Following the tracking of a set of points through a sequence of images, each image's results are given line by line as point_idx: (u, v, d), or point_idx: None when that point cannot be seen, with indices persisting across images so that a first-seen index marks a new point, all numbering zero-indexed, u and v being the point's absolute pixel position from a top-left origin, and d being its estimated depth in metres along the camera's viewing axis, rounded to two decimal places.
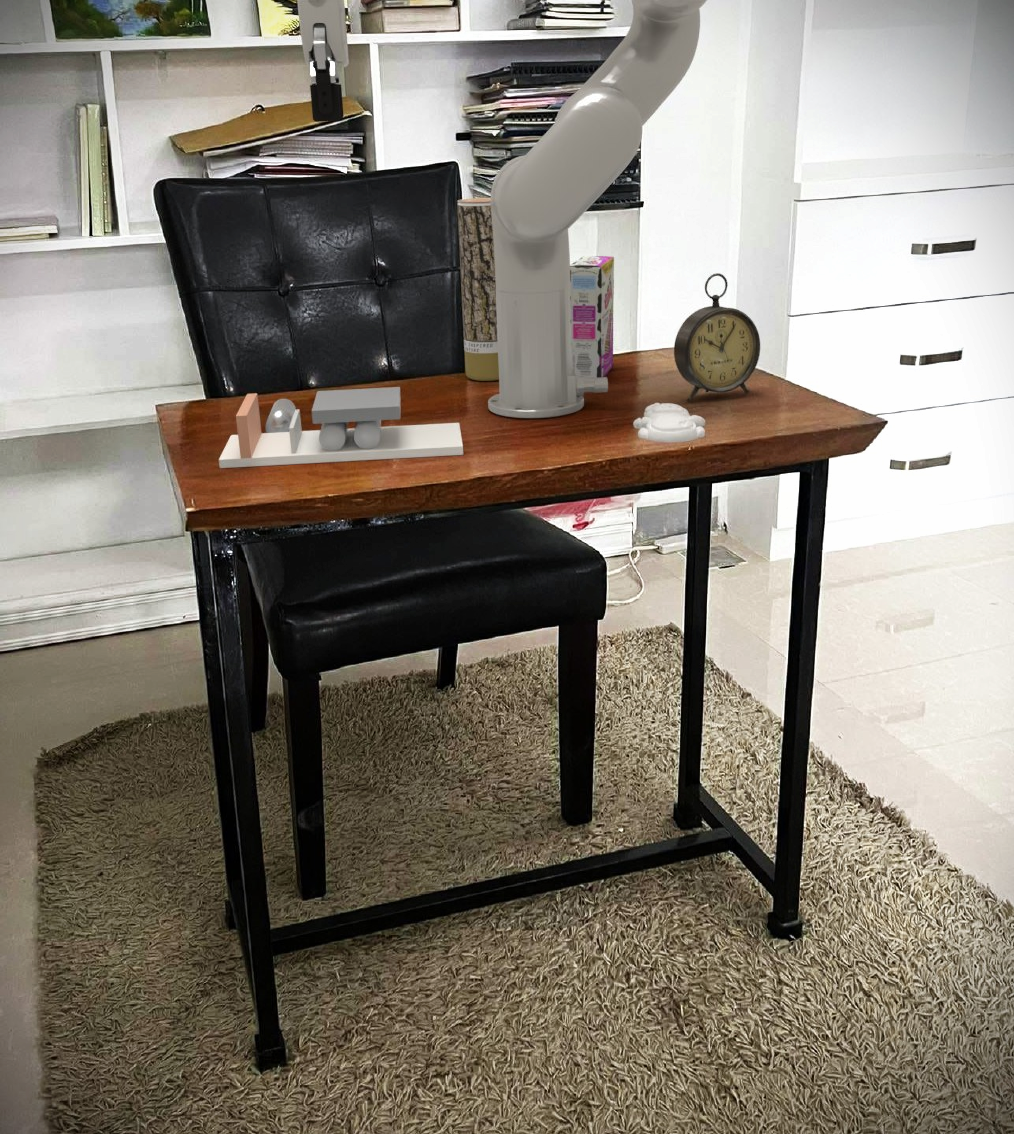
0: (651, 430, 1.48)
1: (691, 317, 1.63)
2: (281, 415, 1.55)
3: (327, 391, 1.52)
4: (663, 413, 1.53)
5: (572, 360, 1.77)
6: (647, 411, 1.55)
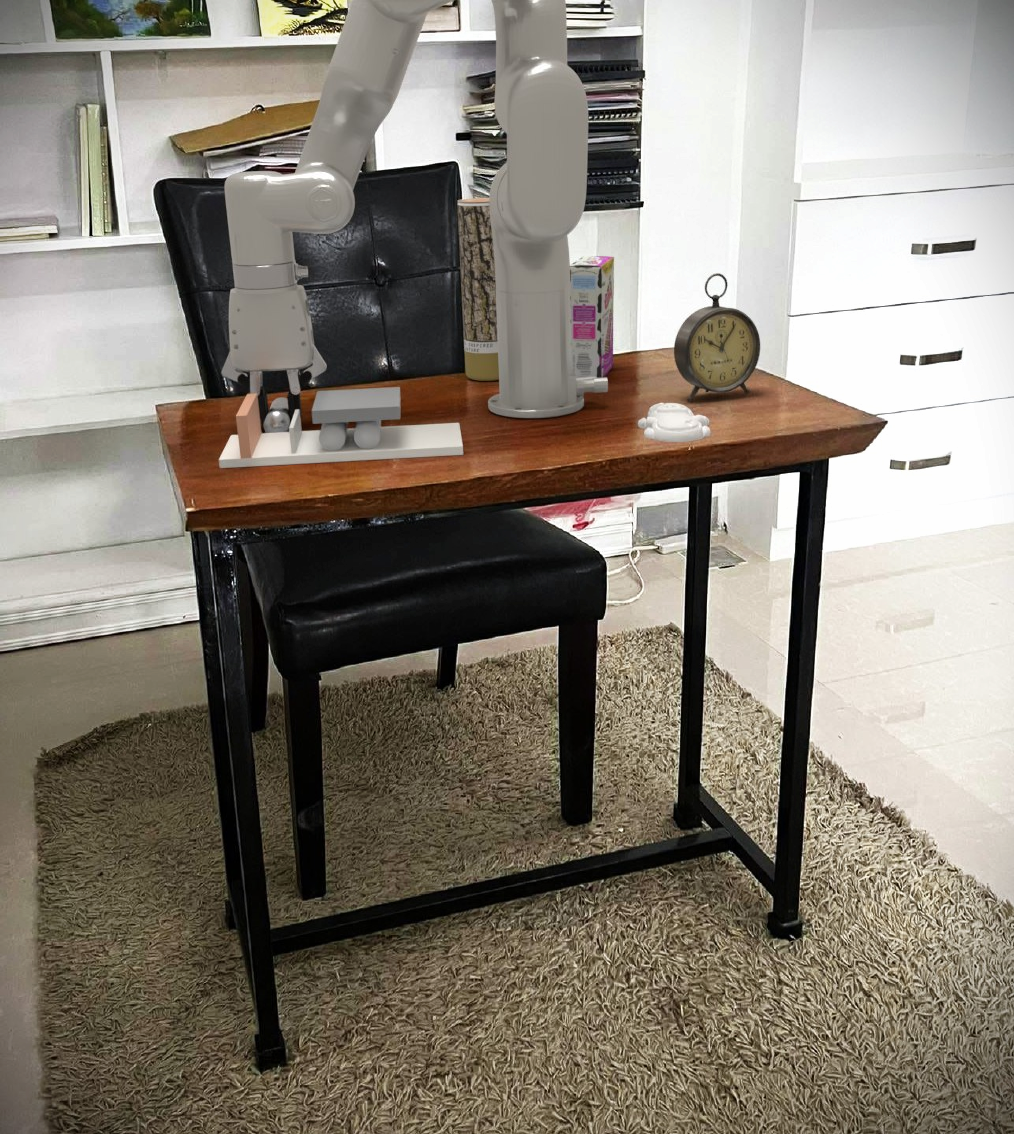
0: (657, 430, 1.48)
1: (691, 317, 1.63)
2: (280, 414, 1.55)
3: (327, 391, 1.52)
4: (668, 413, 1.53)
5: (572, 360, 1.77)
6: (651, 411, 1.55)
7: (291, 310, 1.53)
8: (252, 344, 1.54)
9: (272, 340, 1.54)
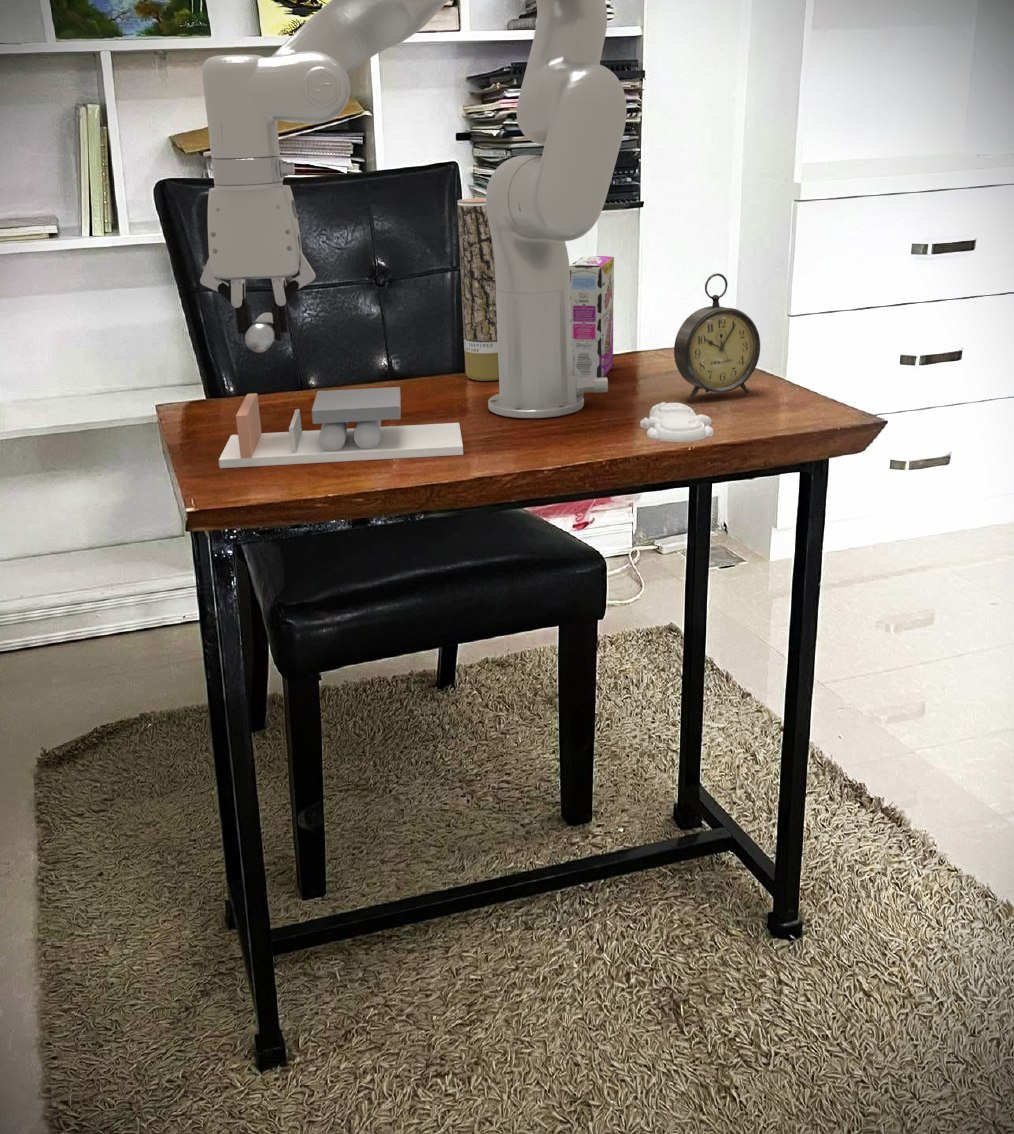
0: (660, 431, 1.48)
1: (691, 317, 1.63)
2: (263, 326, 1.41)
3: (327, 391, 1.52)
4: (670, 413, 1.53)
5: (572, 360, 1.77)
6: (653, 411, 1.55)
7: (275, 210, 1.39)
8: (233, 248, 1.40)
9: (255, 244, 1.40)
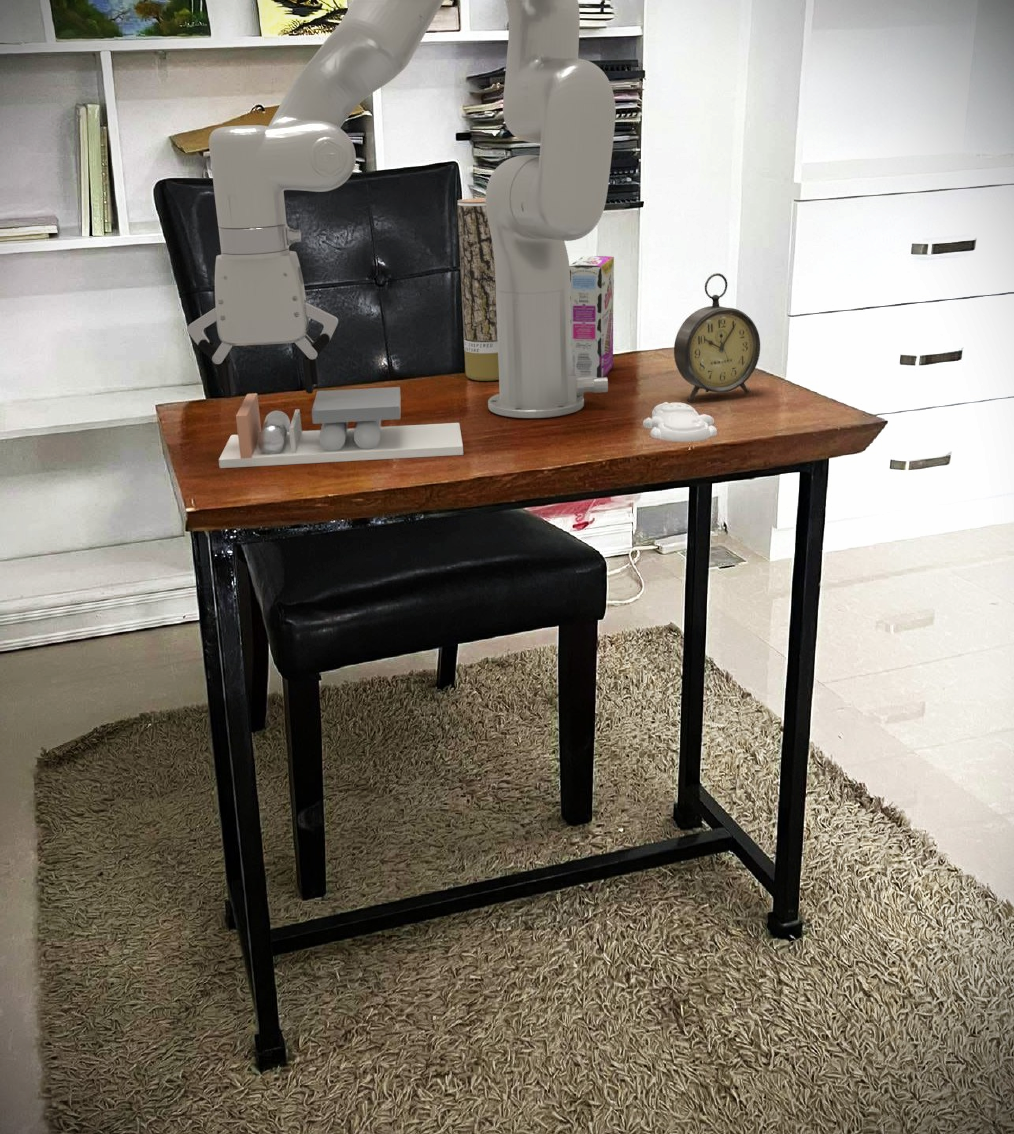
0: (664, 430, 1.48)
1: (691, 317, 1.63)
2: (274, 429, 1.44)
3: (327, 391, 1.52)
4: (673, 412, 1.53)
5: (572, 360, 1.77)
6: (656, 410, 1.55)
7: (283, 277, 1.40)
8: (240, 315, 1.41)
9: (262, 311, 1.41)
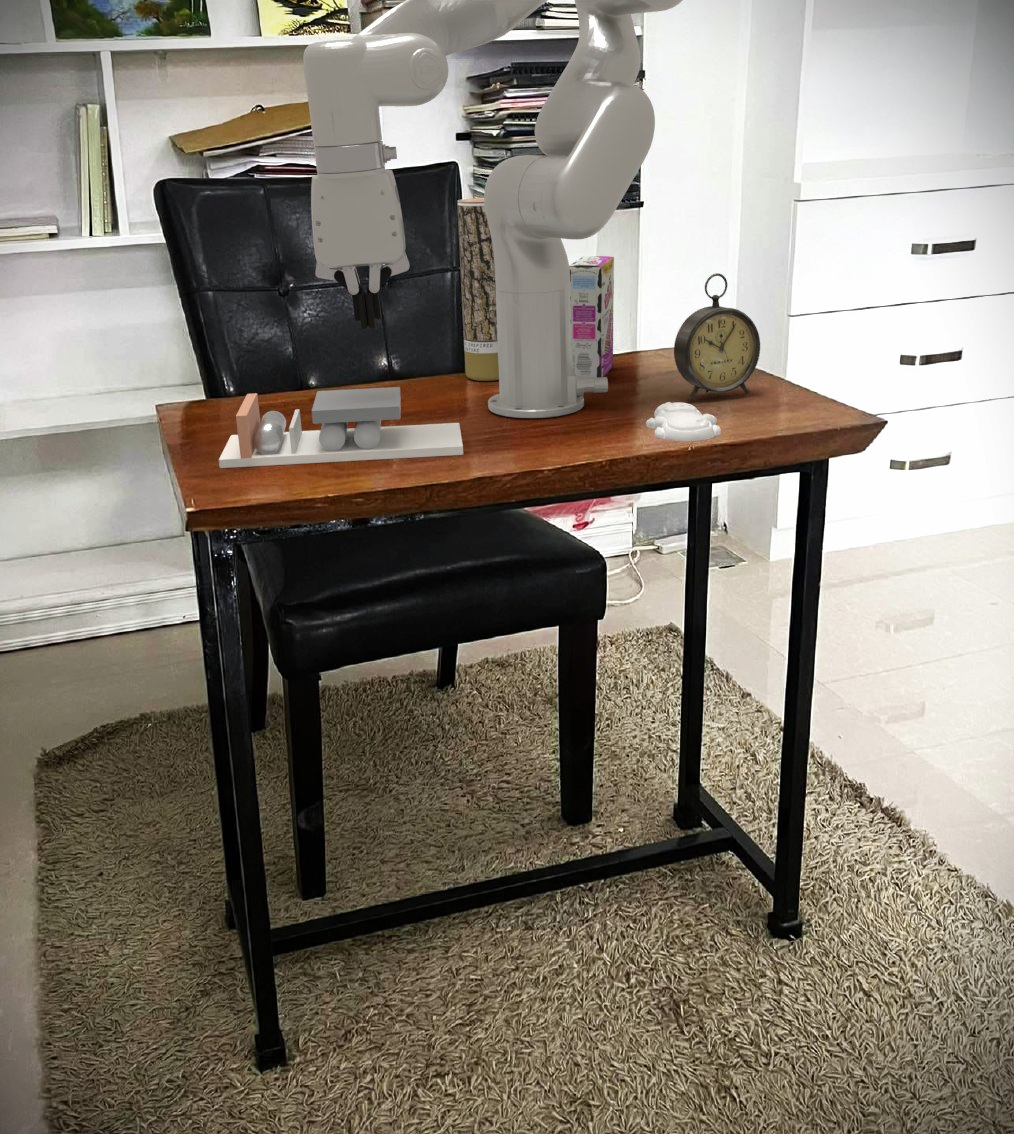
0: (669, 430, 1.48)
1: (691, 317, 1.63)
2: (266, 428, 1.44)
3: (327, 391, 1.52)
4: (676, 412, 1.53)
5: (572, 360, 1.77)
6: (659, 411, 1.55)
7: (380, 196, 1.38)
8: (338, 236, 1.39)
9: (360, 231, 1.39)
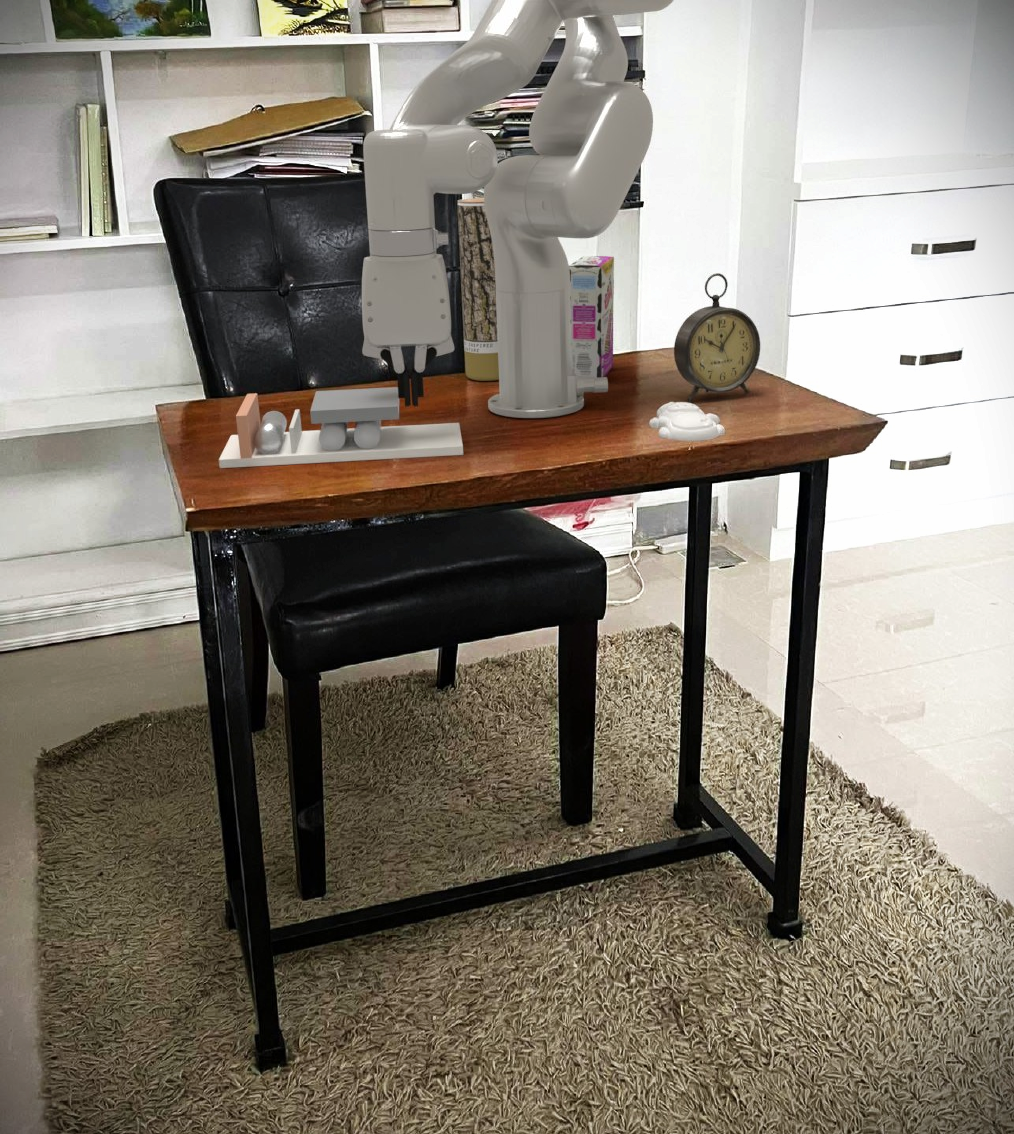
0: (673, 430, 1.48)
1: (691, 317, 1.63)
2: (267, 428, 1.44)
3: (326, 391, 1.52)
4: (680, 412, 1.53)
5: (572, 360, 1.77)
6: (662, 410, 1.55)
7: (431, 279, 1.41)
8: (388, 317, 1.42)
9: (409, 312, 1.42)
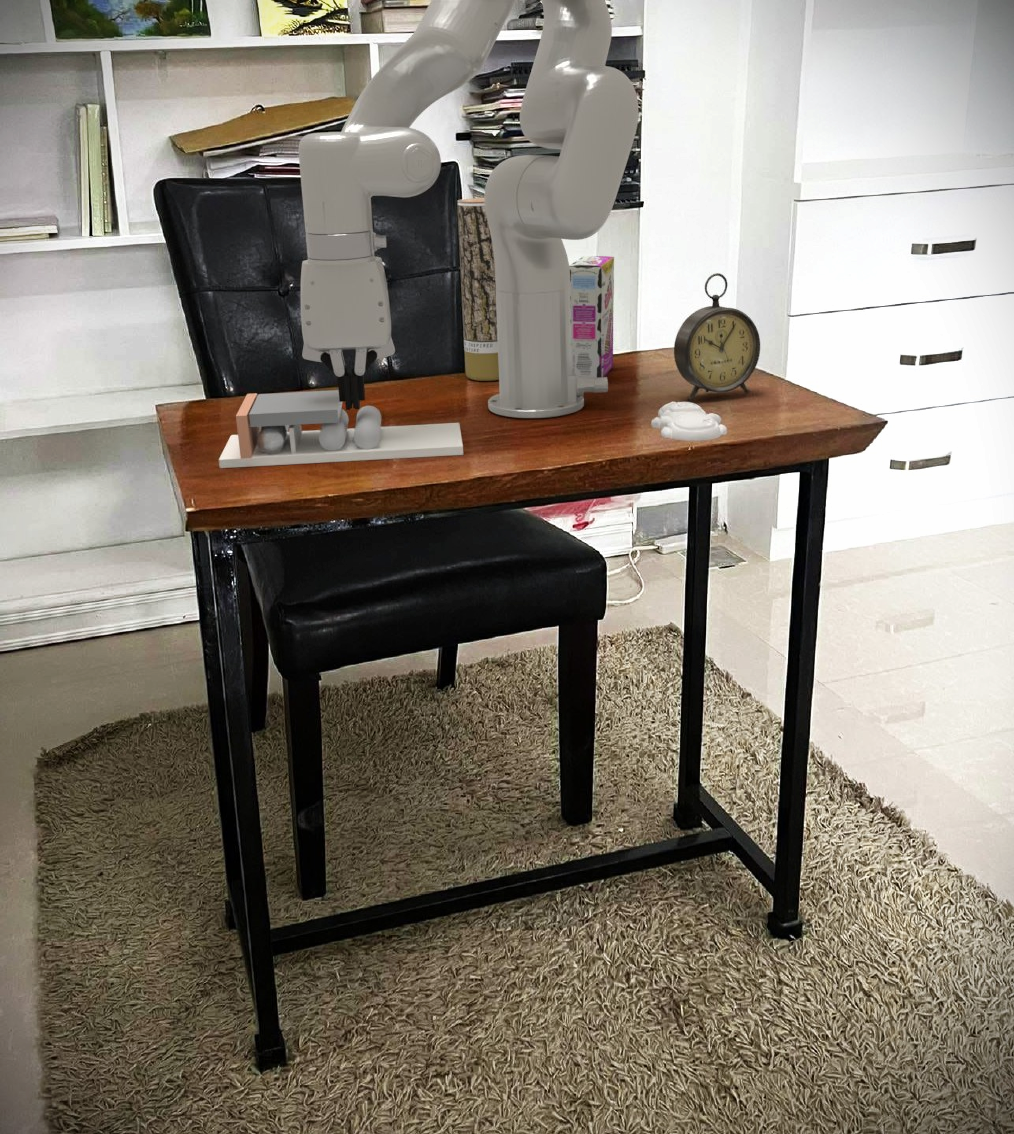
0: (676, 430, 1.48)
1: (691, 317, 1.63)
2: (273, 429, 1.44)
3: (268, 394, 1.51)
4: (682, 412, 1.53)
5: (572, 360, 1.77)
6: (663, 410, 1.55)
7: (369, 283, 1.41)
8: (326, 320, 1.42)
9: (348, 316, 1.42)
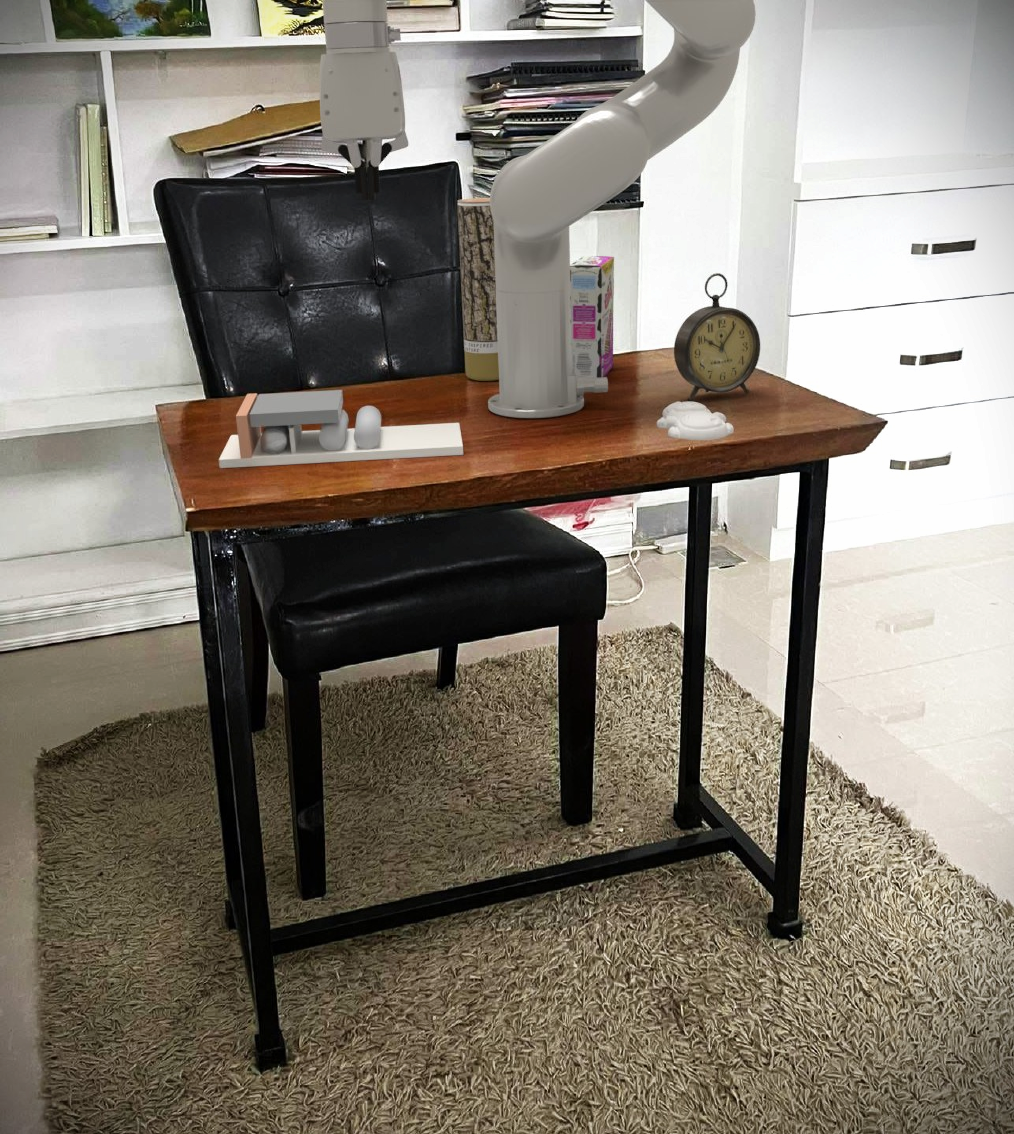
0: (683, 429, 1.48)
1: (691, 317, 1.63)
2: (279, 430, 1.44)
3: (269, 394, 1.51)
4: (687, 411, 1.53)
5: (572, 360, 1.77)
6: (668, 410, 1.55)
7: (384, 73, 1.49)
8: (344, 110, 1.50)
9: (364, 105, 1.50)
